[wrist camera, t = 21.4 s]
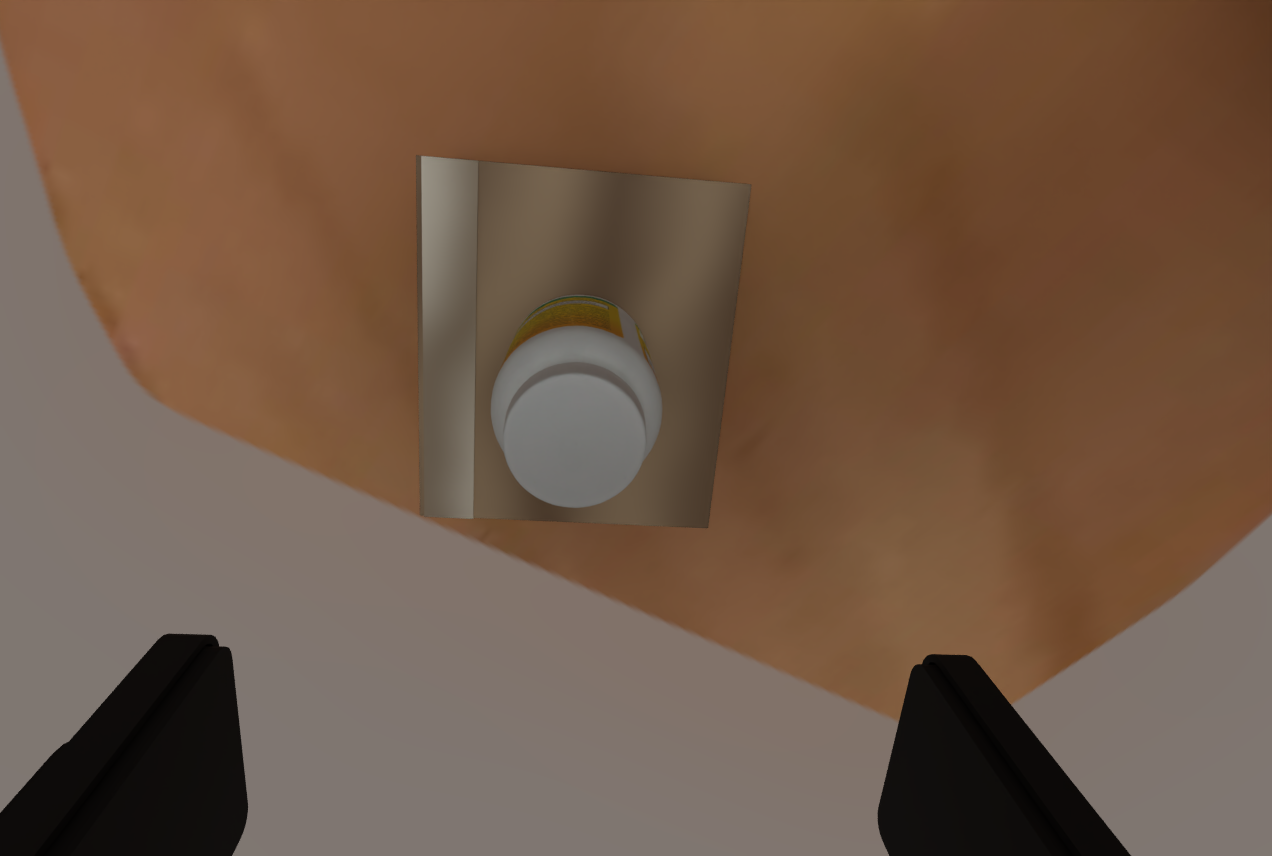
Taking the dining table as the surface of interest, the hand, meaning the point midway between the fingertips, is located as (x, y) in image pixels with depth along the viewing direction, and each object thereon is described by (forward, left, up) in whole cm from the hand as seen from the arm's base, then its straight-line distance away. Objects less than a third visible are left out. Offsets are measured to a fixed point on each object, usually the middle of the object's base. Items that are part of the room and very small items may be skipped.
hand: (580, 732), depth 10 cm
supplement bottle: (0, 0, -21) cm, 21 cm away
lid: (0, 0, -21) cm, 21 cm away
